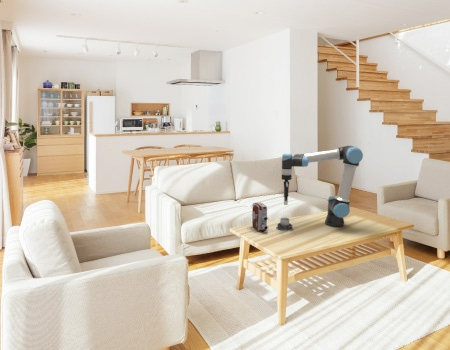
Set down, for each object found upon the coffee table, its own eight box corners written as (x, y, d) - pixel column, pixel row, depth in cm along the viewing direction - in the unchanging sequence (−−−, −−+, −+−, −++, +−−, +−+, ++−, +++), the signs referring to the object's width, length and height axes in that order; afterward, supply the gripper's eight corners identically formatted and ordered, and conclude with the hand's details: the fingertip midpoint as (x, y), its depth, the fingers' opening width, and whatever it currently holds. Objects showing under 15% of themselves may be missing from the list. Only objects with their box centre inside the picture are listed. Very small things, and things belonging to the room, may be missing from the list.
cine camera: (259, 234, 291) (259, 208, 287) (250, 226, 309) (250, 201, 306) (270, 233, 293) (271, 207, 290) (261, 225, 312) (262, 201, 308)
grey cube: (288, 226, 308) (288, 217, 307) (289, 229, 301) (290, 220, 300) (279, 226, 308) (279, 217, 307) (280, 229, 301) (281, 219, 300)
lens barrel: (292, 226, 311) (292, 222, 310) (294, 231, 298) (294, 227, 298) (275, 225, 312) (275, 222, 311) (276, 230, 299) (277, 227, 298)
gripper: (281, 172, 304) (280, 202, 308) (282, 175, 292) (281, 206, 296) (290, 172, 304) (289, 202, 308) (292, 175, 291) (291, 206, 295)
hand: (285, 204), depth 302 cm, fingers closed
